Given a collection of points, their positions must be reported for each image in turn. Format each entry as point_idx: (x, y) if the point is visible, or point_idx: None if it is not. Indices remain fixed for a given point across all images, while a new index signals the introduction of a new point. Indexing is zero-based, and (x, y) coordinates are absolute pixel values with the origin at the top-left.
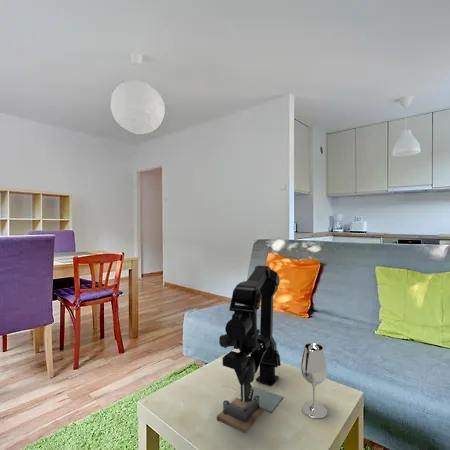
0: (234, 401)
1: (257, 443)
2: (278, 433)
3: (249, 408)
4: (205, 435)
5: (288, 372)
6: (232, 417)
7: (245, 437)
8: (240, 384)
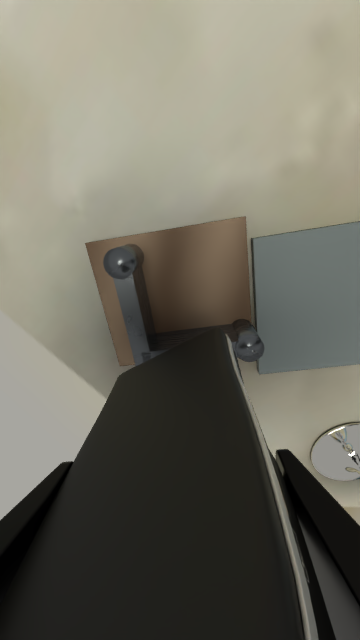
0: (214, 231)
1: None
2: None
3: None
4: (11, 270)
5: None
6: None
7: (110, 368)
8: (65, 465)
